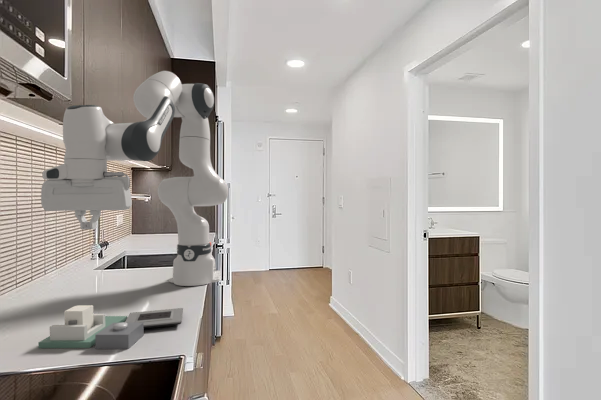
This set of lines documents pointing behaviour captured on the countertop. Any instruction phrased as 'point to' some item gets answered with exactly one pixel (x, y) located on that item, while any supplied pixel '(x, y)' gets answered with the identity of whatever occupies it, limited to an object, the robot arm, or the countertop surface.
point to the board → (78, 333)
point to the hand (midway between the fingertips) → (88, 229)
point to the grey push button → (119, 335)
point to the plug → (80, 316)
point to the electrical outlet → (157, 317)
